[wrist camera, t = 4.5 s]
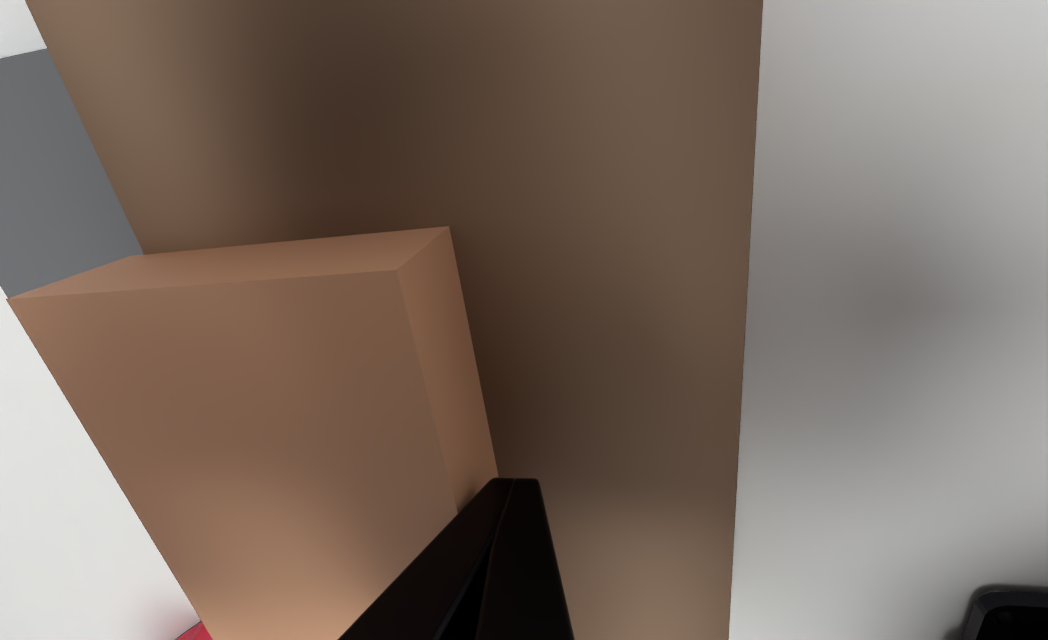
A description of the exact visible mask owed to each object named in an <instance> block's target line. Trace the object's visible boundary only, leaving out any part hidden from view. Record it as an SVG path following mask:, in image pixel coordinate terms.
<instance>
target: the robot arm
mask: <svg viewBox="0 0 1048 640" xmlns="http://www.w3.org/2000/svg"><path fill="white" fill-rule="evenodd" d="M337 640H575V637H574V633H573V628H572V624H571V620H570V615H569V611H568V606H567V602H566V597H565V593H564V589H563V584H562V580H561V575H560V571H559V566H558V562H557V558H556V553H555V549H554V544H553V540H552V535H551V531H550V527H549V522H548V518H547V513H546V509H545V504H544V500H543V496H542V491H541V487H540V483H539V480H538V479H536V478H516V479H514V478H499V477H496V478H492V479H491V480H489V481H488V482H487V483H486V485H485V486H484V487H483V488H482V489H481V490H480V491H479V492H478V493H477V494H476V495H475V496H474V497H473V498H472V499H471V500H470V501H469V502H468V503H467V504H466V505H465V506H464V508H463V509H462V510H461V511H460V512H459V513H458V514H457V515H456V516H455V517H454V518H453V519H452V520H451V521H450V522H449V523H448V524H447V525H446V526H445V527H444V528H443V530H442V531H441V532H440V533H439V534H438V535H437V536H436V537H435V538H434V539H433V540H432V541H431V542H430V543H429V544H428V545H427V546H426V547H425V548H424V549H423V550H422V552H421V553H420V554H419V555H418V556H417V557H416V558H415V559H414V560H413V561H412V562H411V563H410V564H409V565H408V566H407V567H406V568H405V569H404V570H403V571H402V572H401V574H400V575H399V576H398V577H397V578H396V579H395V580H394V581H393V582H392V583H391V584H390V585H389V586H388V587H387V588H386V589H385V590H384V591H383V592H382V593H381V594H380V596H379V597H378V598H377V599H376V600H375V601H374V602H373V603H372V604H371V605H370V606H369V607H368V608H367V609H366V610H365V611H364V612H363V613H362V614H361V615H360V616H359V617H358V619H357V620H356V621H355V622H354V623H353V624H352V625H351V626H350V627H349V628H348V629H347V630H346V631H345V632H344V633H343V634H342V635H341V636H340V637H339V638H338V639H337ZM961 640H1048V594H1038V593H1020V592H1001V591H1000V592H990V593H987V594H984V595H982V596H980V597H979V598H978V599H977V600H976V601H975V603H974V606H973V608H972V611H971V614H970V617H969V620H968V623H967V625H966V628H965V631H964V634H963V637H962V639H961Z"/></svg>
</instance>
